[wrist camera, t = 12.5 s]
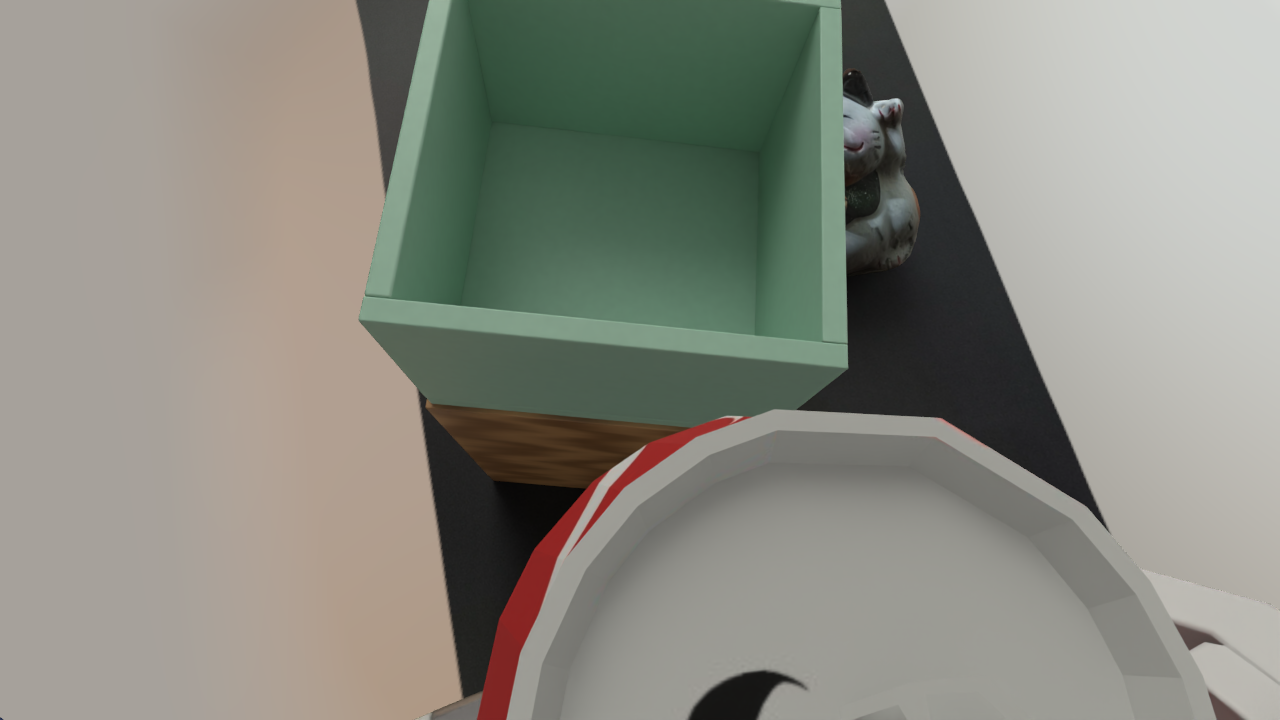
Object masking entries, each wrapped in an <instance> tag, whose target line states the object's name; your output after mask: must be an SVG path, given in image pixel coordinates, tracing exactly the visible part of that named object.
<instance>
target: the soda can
mask: <svg viewBox="0 0 1280 720" xmlns="http://www.w3.org/2000/svg"><path fill="white" fill-rule="evenodd" d="M477 720H1217V719H1216V716H1215V713H1214V709H1213V706H1212V703H1211V700H1210V697H1209V694H1208V690H1207V687H1206V684H1205V681H1204V678H1203V675H1202V673H1201V671H1200V670H1199V668H1198V666H1197V664H1196V662H1195V661H1194V659H1193V657H1192V655H1191V653H1190V652H1189V650H1188V648H1187V646H1186V644H1185V643H1184V641H1183V639H1182V637H1181V635H1180V634H1179V632H1178V630H1177V628H1176V626H1175V625H1174V623H1173V621H1172V619H1171V617H1170V616H1169V614H1168V612H1167V610H1166V608H1165V607H1164V605H1163V603H1162V601H1161V599H1160V598H1159V596H1158V594H1157V592H1156V590H1155V589H1154V587H1153V585H1152V583H1151V581H1150V580H1149V579H1148V578H1147V577H1146V575H1145V574H1144V573H1143V572H1142V571H1141V570H1140V568H1139V567H1138V566H1137V565H1136V564H1135V563H1134V561H1133V560H1132V559H1131V558H1130V557H1129V556H1128V555H1127V553H1126V552H1125V551H1124V550H1123V549H1122V547H1121V546H1120V545H1119V544H1118V543H1117V542H1116V541H1115V539H1114V538H1113V537H1112V536H1111V535H1110V534H1109V532H1108V531H1107V530H1106V529H1105V528H1104V527H1103V525H1102V524H1101V523H1100V522H1099V521H1098V520H1097V518H1096V517H1095V516H1094V515H1093V514H1092V513H1091V511H1090V510H1089V509H1088V508H1087V507H1086V506H1084V505H1083V504H1081V503H1079V502H1078V501H1076V500H1074V499H1073V498H1071V497H1070V496H1068V495H1066V494H1065V493H1063V492H1061V491H1060V490H1058V489H1056V488H1055V487H1053V486H1052V485H1050V484H1048V483H1047V482H1045V481H1043V480H1042V479H1040V478H1038V477H1037V476H1035V475H1033V474H1032V473H1030V472H1029V471H1027V470H1025V469H1024V468H1022V467H1020V466H1019V465H1017V464H1015V463H1014V462H1012V461H1011V460H1009V459H1007V458H1006V457H1004V456H1002V455H1001V454H999V453H997V452H996V451H994V450H993V449H991V448H989V447H988V446H986V445H984V444H983V443H981V442H979V441H978V440H976V439H974V438H973V437H971V436H970V435H968V434H966V433H965V432H963V431H961V430H960V429H958V428H956V427H955V426H953V425H952V424H950V423H948V422H947V421H945V420H943V419H942V418H927V417H909V416H890V415H871V414H853V413H834V412H815V411H797V410H778V409H774V410H771V411H768V412H765V413H762V414H760V415H757V416H754V417H743V416H724V417H721V418H719V419H716V420H713V421H710V422H707V423H704V424H701V425H699V426H696V427H693V428H690V429H687V430H684V431H681V432H679V433H676V434H673V435H670V436H667V437H664V438H661V439H659V440H656V441H653V442H650V443H648V444H647V445H645V446H644V447H642V448H641V449H640V450H638V451H637V452H635V453H634V454H632V455H631V456H629V457H628V458H626V459H625V460H623V461H622V462H621V463H619V464H618V465H616V466H615V467H613V468H612V469H610V470H609V471H607V472H606V473H604V474H603V475H602V476H600V477H599V478H597V479H596V480H594V481H593V482H592V483H591V484H590V485H589V487H588V488H587V489H586V490H585V491H584V492H583V494H582V495H581V496H580V497H579V498H578V499H577V500H576V502H575V503H574V504H573V505H572V506H571V507H570V509H569V510H568V511H567V512H566V513H565V514H564V516H563V517H562V518H561V519H560V520H559V521H558V522H557V524H556V525H555V526H554V527H553V528H552V529H551V531H550V532H549V533H548V534H547V535H546V536H545V538H544V539H543V540H542V541H541V542H540V543H539V544H538V546H537V547H536V548H535V549H534V551H533V553H532V555H531V557H530V559H529V561H528V563H527V565H526V567H525V569H524V571H523V573H522V575H521V577H520V579H519V581H518V583H517V585H516V587H515V589H514V591H513V593H512V595H511V597H510V599H509V601H508V603H507V605H506V607H505V609H504V611H503V613H502V615H501V617H500V619H499V623H498V627H497V632H496V636H495V641H494V645H493V650H492V654H491V659H490V663H489V668H488V672H487V677H486V681H485V685H484V690H483V694H482V699H481V703H480V708H479V712H478V717H477Z"/></svg>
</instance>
